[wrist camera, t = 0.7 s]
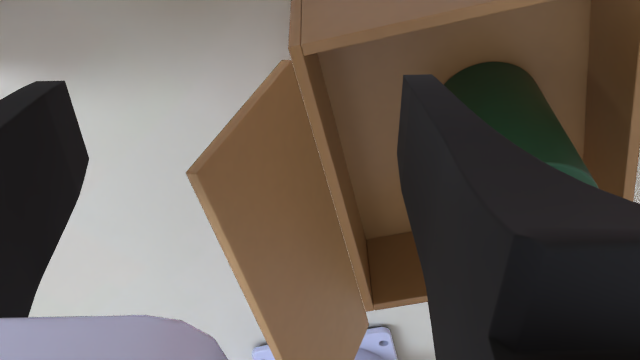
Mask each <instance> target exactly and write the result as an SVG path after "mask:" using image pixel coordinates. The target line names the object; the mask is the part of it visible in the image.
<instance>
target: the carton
mask: <svg viewBox="0 0 640 360" xmlns="http://www.w3.org/2000/svg"><path fill="white" fill-rule="evenodd" d="M288 49H289V53H290V56H291V60H292V63H293V66H294V70H295V73H296V77H297V80H298V83H299V87H300V90H301V94H302V97H303V100H304V104H305V107H306V111H307V114H308V117H309V121H310V124H311V128H312V131H313V134H314V138H315V141H316V145H317V148H318V151H319V155H320V158H321V162H322V165H323V169H324V172H325V175H326V179H327V182H328V186H329V189H330V192H331V196H332V199H333V203H334V206H335V209H336V213H337V216H338V220H339V223H340V226H341V230H342V233H343V237H344V240H345V243H346V247H347V250H348V254H349V257H350V260H351V264H352V267H353V271H354V274H355V277H356V281H357V284H358V288H359V291H360V294H361V298H362V301H363V305H364V308H365V311H366V312H367V311H373V310H374V309H375V310H380V309H386V308H392V307H398V306H404V305H410V304H417V303H423V302H428V298H427V292H426V285H425V281H424V276H423V271H422V267H421V263H420V260H419V256H418V252H417V248H416V245H415V241H414V237H413V234H412V230H411V226H410V222H409V219H408V215H407V211H406V207H405V203H404V199H403V195H402V191H401V185H400V177H399V169H398V160H397V144H398V132H399V120H400V108H401V96H402V84H403V75H421V74H432V75H433V76H435V77H436V78H437V79H438V80H439V81H440V82H441V83H442V84H443V85H444V84H445V83H446V82H447V81H448V80H449V79H450V78H451V77H452V76H454V75H455V74H457V73H458V72H460V71H462V70H463V69H465V68H468V67H470V66H473V65H476V64H480V63H485V62H505V63H509V64H513V65H515V66H518V67H520V68H522V69H524V70H525V71H526V72H528V73H529V74H530V75H531V76H532V77H533V79H534V80H535V82H536V83H537V85H538V87H539V88H540V90H541V92H542V93H543V95H544V97H545V98H546V100H547V102H548V103H549V105H550V107H551V108H552V110H553V112H554V113H555V115H556V117H557V118H558V120H559V122H560V123H561V125H562V127H563V128H564V130H565V132H566V134H567V135H568V137H569V139H570V140H571V142H572V144H573V145H574V147H575V149H576V150H577V152H578V154H579V155H580V157H581V159H582V160H583V162H584V164H585V165H586V167H587V169H588V170H589V172H590V174H591V175H592V177H593V179H594V180H595V182H596V184H597V186H598V188H599V189H601V190H603V191H606V192H609V193H611V194H614V195H617V196H619V197H622V198H625V199H627V200H630V201H633V199H634V190H635V182H636V174H637V165H638V157H639V149H640V0H291V10H290V27H289V45H288Z"/></svg>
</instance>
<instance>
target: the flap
mask: <svg viewBox="0 0 640 360" xmlns="http://www.w3.org/2000/svg"><path fill="white" fill-rule="evenodd" d="M186 174H187V176H188V179H189V181H190V183H191V185H192V187H193V189H194V191H195V193H196V195H197V197H198V199H199V202H200V204H201V206H202V208H203V210H204V212H205V214H206V216H207V218H208V220H209V222H210V225H211V227H212V229H213V231H214V233H215V235H216V237H217V239H218V241H219V243H220V245H221V248H222V250H223V252H224V254H225V256H226V258H227V260H228V262H229V264H230V266H231V268H232V271H233V273H234V275H235V277H236V279H237V281H238V283H239V285H240V287H241V289H242V291H243V294H244V296H245V298H246V300H247V302H248V304H249V306H250V308H251V310H252V312H253V314H254V317H255V319H256V321H257V323H258V325H259V327H260V329H261V331H262V333H263V335H264V337H265V340H266V342H267V344H268V346H269V348H270V350H271V352H272V354H273V356H274V358H275V360H354V359H355V356H356V354H357V352H358V349H359V347H360V345H361V342H362V340H363V338H364V335H365V333H366V331H367V328H368V326H369V323H368V319H367V316H366V312H365V309H364V306H363V302H362V299H361V295H360V292H359V289H358V285H357V282H356V278H355V275H354V272H353V268H352V265H351V261H350V258H349V255H348V251H347V248H346V244H345V241H344V238H343V234H342V231H341V227H340V224H339V221H338V217H337V214H336V210H335V207H334V204H333V200H332V197H331V193H330V190H329V187H328V183H327V180H326V176H325V173H324V170H323V166H322V163H321V159H320V156H319V153H318V149H317V146H316V142H315V139H314V136H313V132H312V129H311V125H310V122H309V119H308V115H307V112H306V108H305V105H304V102H303V98H302V95H301V91H300V88H299V85H298V81H297V78H296V74H295V71H294V68H293V64H292V61H291V60H282V61H281V62H280V63H279V64H278V65H277V66H276V67H275V69H274V70H273V71H272V72H271V73H270V75H269V76H268V77H267V78H266V79H265V80H264V82H263V83H262V84H261V85H260V86H259V87H258V89H257V90H256V91H255V92H254V93H253V94H252V96H251V97H250V98H249V99H248V100H247V101H246V103H245V104H244V105H243V106H242V107H241V108H240V110H239V111H238V112H237V113H236V114H235V116H234V117H233V118H232V119H231V120H230V121H229V123H228V124H227V125H226V126H225V127H224V128H223V130H222V131H221V132H220V133H219V134H218V135H217V137H216V138H215V139H214V140H213V141H212V142H211V144H210V145H209V146H208V147H207V148H206V149H205V151H204V152H203V153H202V154H201V155H200V157H199V158H198V159H197V160H196V161H195V162H194V164H193V165H192V166H191V167H190V168H189V169H188V171H187V172H186Z"/></svg>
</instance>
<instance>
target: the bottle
mask: <svg viewBox="0 0 640 360" xmlns="http://www.w3.org/2000/svg"><path fill="white" fill-rule="evenodd" d="M444 86H445V87H446V88H447V89H448V90H450V91H451V92H452V93H453V94H454V95H455V96H456V97H457V98H458V99H459V100H460V101H461V102H462V103H464V104H465V105H466V106H467V107H468V108H469V109H470V110H471V111H473V112H474V113H475V114H476V115H477V116H478V117H480V118H481V119H482V120H483V121H484V122H486V123H487V124H488V125H489V126H491V127H492V128H493V129H495V130H496V131H497V132H499V133H500V134H501V135H503V136H504V137H505V138H507V139H508V140H509V141H511V142H512V143H514V144H515V145H517V146H518V147H520V148H521V149H523V150H525V151H526V152H528V153H530V154H531V155H533V156H535V157H536V158H538V159H539V160H541V161H543V162H545V163H546V164H548V165H550V166H552V167H554V168H556V169H558V170H560V171H562V172H564V173H566V174H568V175H570V176H572V177H574V178H576V179H578V180H580V181H582V182H584V183H587V184H589V185H591V186H594V187H596V188H598V186H597V184H596V182H595V180H594V179H593V177H592V175H591V174H590V172H589V170H588V169H587V167H586V165H585V164H584V162H583V160H582V159H581V157H580V155H579V154H578V152H577V150H576V149H575V147H574V145H573V144H572V142H571V140H570V139H569V137H568V135H567V134H566V132H565V130H564V128H563V127H562V125H561V123H560V122H559V120H558V118H557V117H556V115H555V113H554V112H553V110H552V108H551V107H550V105H549V103H548V102H547V100H546V98H545V97H544V95H543V93H542V92H541V90H540V88H539V87H538V85H537V83H536V82H535V80H534V79H533V77H532V76H531V75H530V74H529V73H528V72H526V71H525V70H524V69H522V68H520V67H518V66H515V65H513V64H509V63H505V62H485V63H480V64H476V65H473V66H470V67H468V68H465V69H463V70H462V71H460V72H458V73H457V74H455V75H454V76H452V77H451V78H450V79H449V80H448V81H447V82H446V83H445V84H444Z"/></svg>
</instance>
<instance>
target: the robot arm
mask: <svg viewBox="0 0 640 360" xmlns="http://www.w3.org/2000/svg"><path fill="white" fill-rule="evenodd" d="M397 160H398V169H399V177H400V185H401V191H402V195H403V199H404V203H405V207H406V211H407V215H408V219H409V222H410V226H411V230H412V234H413V237H414V241H415V245H416V248H417V252H418V256H419V260H420V263H421V267H422V271H423V276H424V281H425V285H426V292H427V298H428V305H429V312H430V319H431V326H432V333H433V341H434V349H435V356H436V360H640V204H638V203H636V202H633V201H630V200H627V199H625V198H622V197H619V196H617V195H614V194H611V193H609V192H606V191H603V190H601V189H599V188H596V187H594V186H591V185H589V184H587V183H584V182H582V181H580V180H578V179H576V178H574V177H572V176H570V175H568V174H566V173H564V172H562V171H560V170H558V169H556V168H554V167H552V166H550V165H548V164H546V163H545V162H543V161H541V160H539V159H538V158H536V157H535V156H533V155H531V154H530V153H528V152H526V151H525V150H523V149H521V148H520V147H518V146H517V145H515V144H514V143H512V142H511V141H509V140H508V139H507V138H505V137H504V136H503V135H501V134H500V133H499V132H497V131H496V130H495V129H493V128H492V127H491V126H489V125H488V124H487V123H486V122H484V121H483V120H482V119H481V118H480V117H478V116H477V115H476V114H475V113H474V112H473V111H471V110H470V109H469V108H468V107H467V106H466V105H465V104H464V103H462V102H461V101H460V100H459V99H458V98H457V97H456V96H455V95H454V94H453V93H452V92H451V91H450V90H448V89H447V88H446V87H445V86H444V85H443V84H442V83H441V82H440V81H439V80H438V79H437V78H436V77H435V76H433V75H432V74H421V75H403V84H402V96H401V108H400V120H399V132H398V144H397ZM88 161H89V157H88V154H87V150H86V147H85V144H84V141H83V138H82V134H81V131H80V128H79V125H78V122H77V118H76V115H75V112H74V109H73V106H72V102H71V99H70V96H69V93H68V90H67V86H66V83H65V81H36V82H34V83H31V84H29V85H27V86H25V87H23V88H21V89H19V90H17V91H15V92H13V93H12V94H10V95H8V96H6V97H5V98H3V99H1V100H0V360H228V359H227V357H226V356H225V354H224V353H223V351H222V350H221V348H220V346H219V345H218V343H217V342H216V340H215V339H214V338H213V337H211V336H210V335H208V334H206V333H204V332H202V331H201V330H199V329H197V328H195V327H193V326H191V325H189V324H187V323H186V322H184V321H182V320H176V319H169V318H162V317H155V316H148V315H126V316H75V317H28V315H29V312H30V309H31V306H32V303H33V300H34V297H35V294H36V291H37V289H38V286H39V284H40V281H41V279H42V276H43V274H44V272H45V270H46V268H47V266H48V263H49V261H50V259H51V257H52V255H53V253H54V250H55V248H56V246H57V244H58V242H59V240H60V238H61V235H62V233H63V231H64V229H65V227H66V225H67V222H68V220H69V218H70V216H71V214H72V211H73V209H74V207H75V205H76V202H77V200H78V198H79V195H80V191H81V188H82V185H83V181H84V177H85V173H86V169H87V165H88ZM252 357H253V359H254V360H275V358H274V356H273V354H272V352H271V350H270V348H269V346H268V345H264V346H259V347H256V348H254V349H253V352H252ZM354 360H398V358H397V355H396V351H395V347H394V343H393V339H392V336H391V332H390V330H389V329H388V328H385V327H378V328H372V329H367V331H366V333H365V335H364V338H363V340H362V342H361V345H360V347H359V349H358V352H357V354H356V356H355V359H354Z"/></svg>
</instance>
